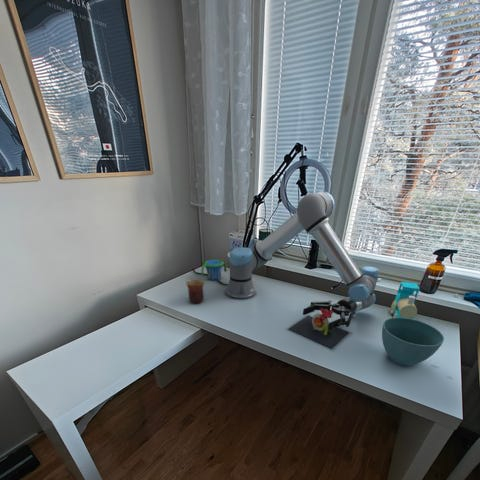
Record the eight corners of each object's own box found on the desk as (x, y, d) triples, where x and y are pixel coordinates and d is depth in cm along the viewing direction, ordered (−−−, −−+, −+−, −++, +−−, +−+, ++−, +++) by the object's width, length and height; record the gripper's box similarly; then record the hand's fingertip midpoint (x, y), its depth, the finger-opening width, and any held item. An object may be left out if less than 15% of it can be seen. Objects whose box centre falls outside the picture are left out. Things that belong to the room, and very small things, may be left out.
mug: (203, 305, 132) (202, 286, 127) (186, 304, 132) (184, 285, 127) (207, 295, 142) (206, 276, 137) (190, 294, 142) (189, 276, 137)
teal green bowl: (369, 362, 95) (379, 333, 89) (378, 338, 108) (387, 312, 102) (428, 382, 87) (444, 352, 81) (430, 354, 100) (444, 326, 94)
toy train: (393, 326, 117) (405, 295, 109) (389, 310, 130) (399, 281, 123) (414, 330, 114) (427, 298, 107) (407, 312, 128) (418, 283, 120)
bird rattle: (311, 337, 112) (332, 336, 106) (305, 312, 109) (326, 311, 103) (317, 331, 116) (338, 330, 110) (311, 307, 113) (332, 305, 107)
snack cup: (204, 283, 156) (203, 266, 151) (199, 277, 165) (198, 261, 159) (229, 279, 161) (229, 263, 156) (223, 273, 170) (223, 258, 164)
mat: (288, 329, 114) (288, 328, 114) (308, 316, 124) (308, 315, 124) (331, 349, 102) (331, 348, 102) (349, 332, 112) (349, 332, 112)
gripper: (372, 325, 111) (339, 341, 101) (325, 302, 129) (293, 314, 118) (377, 309, 107) (343, 324, 97) (328, 288, 125) (295, 299, 115)
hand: (315, 318), depth 108 cm, fingers open, 13 cm apart
